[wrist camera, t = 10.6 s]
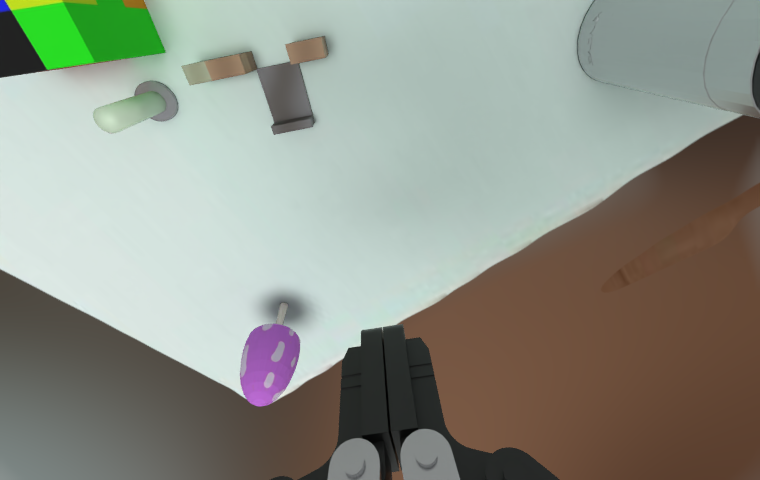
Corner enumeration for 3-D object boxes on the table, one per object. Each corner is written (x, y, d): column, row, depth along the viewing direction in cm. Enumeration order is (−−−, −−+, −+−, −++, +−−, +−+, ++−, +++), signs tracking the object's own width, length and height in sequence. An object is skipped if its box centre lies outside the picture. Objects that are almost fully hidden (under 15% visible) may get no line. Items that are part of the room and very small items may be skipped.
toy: (315, 312, 50) (302, 409, 37) (277, 327, 51) (251, 426, 38) (291, 281, 46) (267, 377, 34) (250, 298, 47) (212, 396, 35)
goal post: (166, 77, 32) (115, 91, 25) (184, 116, 34) (142, 138, 27) (130, 85, 32) (70, 100, 25) (150, 122, 34) (100, 147, 27)
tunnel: (269, -208, 23) (254, -248, 20) (342, 116, 35) (341, 126, 31) (103, -168, 23) (62, -200, 20) (232, 138, 35) (218, 150, 32)
